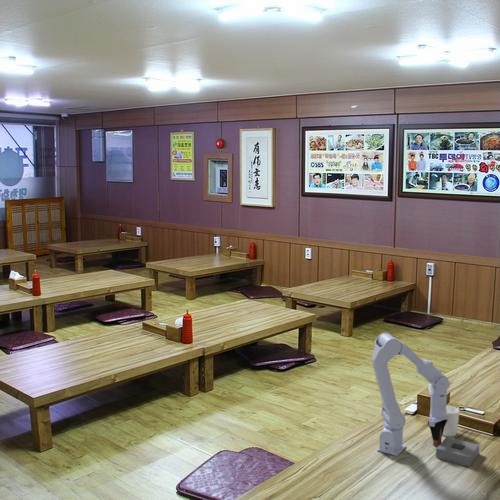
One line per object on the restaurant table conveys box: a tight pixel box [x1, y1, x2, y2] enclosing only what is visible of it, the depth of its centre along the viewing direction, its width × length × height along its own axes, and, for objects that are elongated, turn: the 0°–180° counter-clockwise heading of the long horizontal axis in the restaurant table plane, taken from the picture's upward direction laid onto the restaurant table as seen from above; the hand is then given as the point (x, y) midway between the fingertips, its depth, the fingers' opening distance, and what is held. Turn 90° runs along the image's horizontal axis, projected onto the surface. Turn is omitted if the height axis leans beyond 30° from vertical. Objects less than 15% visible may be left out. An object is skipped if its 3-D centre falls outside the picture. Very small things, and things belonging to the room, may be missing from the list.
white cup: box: [442, 405, 460, 438], centre depth 241 cm, size 8×8×10 cm
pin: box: [432, 429, 443, 448], centre depth 231 cm, size 3×3×8 cm
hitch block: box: [435, 436, 480, 467], centre depth 223 cm, size 12×12×4 cm
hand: (437, 438), depth 231 cm, fingers closed on pin, 3 cm apart
